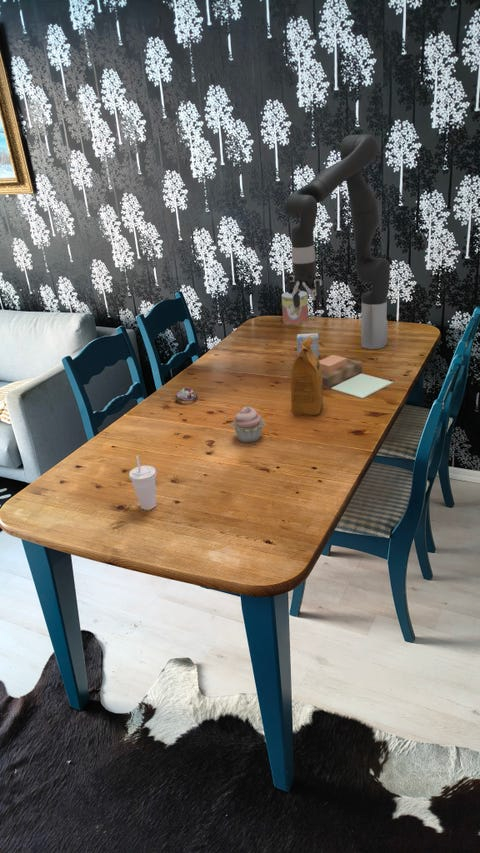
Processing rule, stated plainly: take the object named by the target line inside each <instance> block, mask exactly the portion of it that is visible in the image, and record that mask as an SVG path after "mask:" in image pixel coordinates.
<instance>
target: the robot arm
mask: <svg viewBox="0 0 480 853" xmlns="http://www.w3.org/2000/svg"><path fill="white" fill-rule="evenodd" d="M378 146H379V145H378V142H377V140H376V137H374V136H373V135H371V134H351V135H350V134H348V135H345V136H344V137H343V139H342V140H341V143H340V147H339V155H340V157H339V158H340V161H339V160H338V162H336V163H334V164H332V165H330V166H328V167H326V168H325V169H323V170H321V171H320V172H319V173H318V174H317V175H316V176H315V177H314V178H312V179H311V181H309V183H307V184H305V185H304V186H302V187H300V188H299V189H297V190H295V191H294V192H292V193H291V194H290V195H289V196H288V197H287V198H286V200H285V202H284V207H283V209H284V213H285V215H286V216H288V217H289V218H292V219H299V223H298V224H299V225H298V226H294V227H293V228H292V229H291V232H290V234H291V262H292V274H290V275H288V276H287V281H286V282H287V292H288V293H289V294H292V296H293V304H294V307H298V306H300V295H298V294H299V293H300V291H304V292H307V294H308V295H309V296H310V297H311V298H312V311H313V312H314V311H315V312H316V311H319V310H320V308H321V305H320V299H321V298H324V297H325V288H324V285H325V284H324V279H323V278H320V279H317V278H316V273H317V266H316V264H317V263H316V250H315V240H314V239H315V236H314V230H315V226H316V220H317V217H318V216H317V215H318V204H320V203H321V202H323V201H324V200H326V199H327V198H328V196H330V195H331V194H332V193H333V192H334V191H335V190H336V189H337V188H338V187H339V186H341V184H343V183H344V182H346V187H347V188H346V189H347V193H348V199H349V208H350V215H351V216H350V217H351V224H352V227H353V228H352V229H353V236H354V247H355V266H356V267H355V268H356V276H357V278H358V279H359V281H360V282H362V283H365V284H366V283H367V284H372V286H371V290H370V291H366V292H364V293H362V294H361V307H360V308H361V311H360V313H361V326H360V327H361V333H360V334H361V337H360V338H361V344H360V346H361V347H362V348H364V349H368V350H379V349H383V348H385V347H386V345H387V344H388V321H389V320H388V319H387V312H388V311H387V308H388V307H387V304H388V296H389V290H390V279H391V278H390V277H391V267H390V266H391V264H390V262H389V260H388V259H386V258H382V257H373V255H372V248H371V246H372V245H371V244H372V239H373V237H374V235H375V233H376V231H377V229H378V225H379V221H380V216H379V206H378V200H377V198H376V197H375V195H374V193H373V192H372V190H371V188H370V186H368V185H369V184H367V182H366V181H365V179H364V176H363V172H362V169H364V168H365V167H367V166H368V165H371V163H372V162H373V161H374V160H375V159H376V157H377V154H378V150H379V149H378Z"/></svg>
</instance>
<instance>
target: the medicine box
mask: <svg viewBox="0 0 480 853" xmlns="http://www.w3.org/2000/svg"><path fill="white" fill-rule="evenodd" d="M308 337H311V338H312V339H313V343H312V344H311V345H310V347H311V349H312V352H313V354H314V355H315V356H316V357H317V359H319V357H320V356H319V355H320V353H319V333H317V332H316V333H297V334H296V351H297V357H298V356H299V354H300V353H301V351H302V347H301V343H303V342H304V341H305V340H306V339H307V338H308Z"/></svg>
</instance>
